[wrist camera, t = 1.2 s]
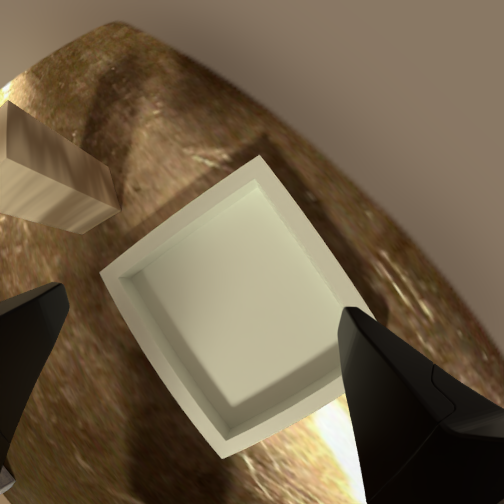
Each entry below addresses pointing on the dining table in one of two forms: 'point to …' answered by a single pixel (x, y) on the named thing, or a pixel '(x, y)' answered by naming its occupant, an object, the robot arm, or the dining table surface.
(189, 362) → the tray
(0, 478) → the medicine box
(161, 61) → the dining table surface
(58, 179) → the birch block
